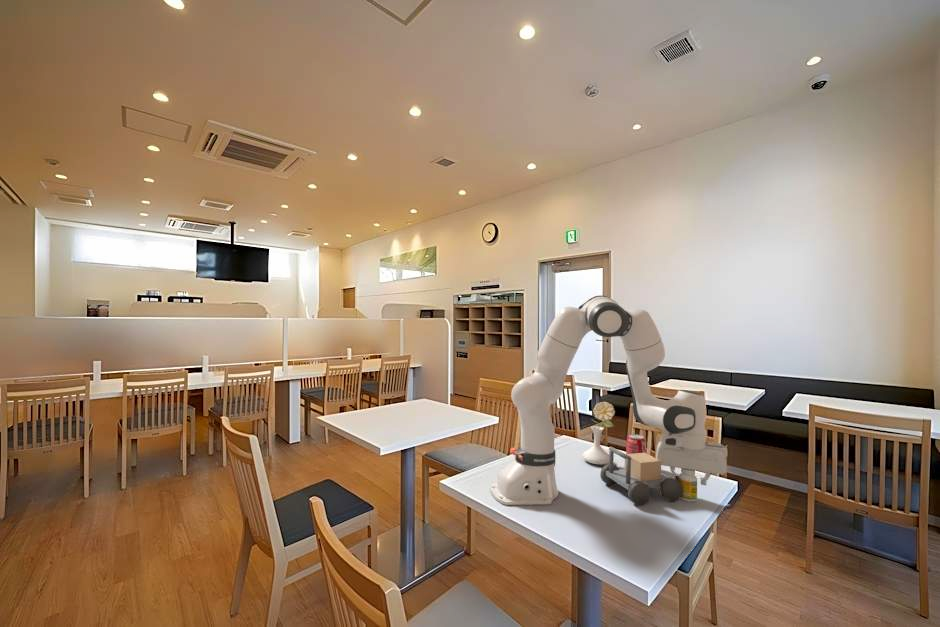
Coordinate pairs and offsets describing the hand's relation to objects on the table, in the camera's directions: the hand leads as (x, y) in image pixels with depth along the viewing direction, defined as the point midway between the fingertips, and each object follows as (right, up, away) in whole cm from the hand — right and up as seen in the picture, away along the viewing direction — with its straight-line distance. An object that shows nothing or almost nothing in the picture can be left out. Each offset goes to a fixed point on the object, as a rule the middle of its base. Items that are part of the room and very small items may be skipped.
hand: (689, 482), depth 129 cm
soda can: (-6, -5, +27) cm, 28 cm away
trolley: (-15, -5, +4) cm, 16 cm away
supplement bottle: (-1, -5, 0) cm, 5 cm away
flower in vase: (-20, -5, +30) cm, 37 cm away
